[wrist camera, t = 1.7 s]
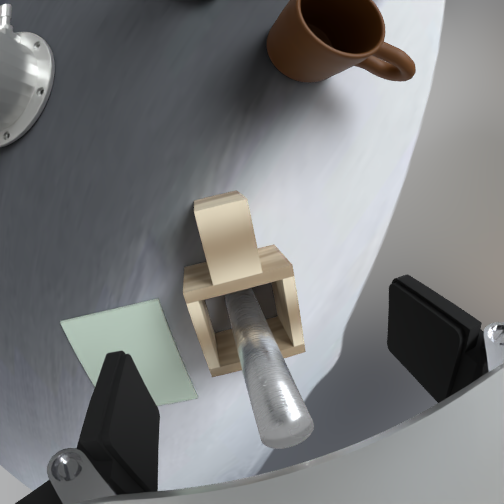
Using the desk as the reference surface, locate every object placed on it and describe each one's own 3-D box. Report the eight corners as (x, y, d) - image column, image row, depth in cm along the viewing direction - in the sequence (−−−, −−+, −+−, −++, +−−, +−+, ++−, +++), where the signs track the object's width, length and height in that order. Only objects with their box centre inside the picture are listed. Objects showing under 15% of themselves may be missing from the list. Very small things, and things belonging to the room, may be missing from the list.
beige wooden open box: (167, 207, 28) (161, 220, 22) (262, 184, 29) (279, 191, 23) (208, 342, 33) (212, 377, 27) (287, 321, 34) (305, 351, 28)
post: (221, 287, 31) (256, 424, 14) (250, 279, 31) (311, 408, 14) (228, 312, 32) (265, 453, 15) (256, 305, 32) (315, 438, 15)
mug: (379, 61, 27) (435, 41, 18) (359, 118, 28) (416, 109, 19) (280, 7, 23) (313, -39, 15) (252, 64, 25) (278, 27, 16)
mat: (61, 320, 29) (60, 322, 28) (158, 298, 30) (157, 299, 30) (111, 410, 33) (111, 412, 33) (197, 396, 35) (197, 398, 34)
